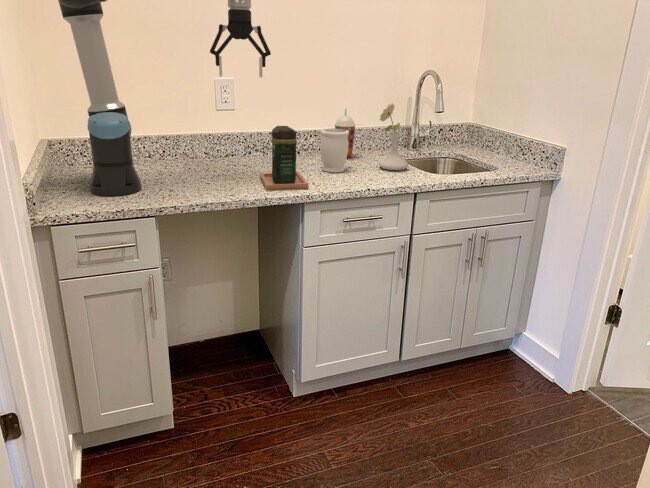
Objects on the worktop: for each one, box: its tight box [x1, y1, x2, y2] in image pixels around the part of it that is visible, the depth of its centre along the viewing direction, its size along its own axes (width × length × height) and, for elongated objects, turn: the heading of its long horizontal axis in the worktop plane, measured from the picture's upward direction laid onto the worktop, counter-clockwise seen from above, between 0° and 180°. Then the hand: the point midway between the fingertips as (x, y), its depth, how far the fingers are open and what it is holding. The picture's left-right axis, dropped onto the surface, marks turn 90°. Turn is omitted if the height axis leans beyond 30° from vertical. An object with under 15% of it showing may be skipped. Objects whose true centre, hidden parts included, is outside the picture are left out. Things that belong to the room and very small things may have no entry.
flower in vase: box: [378, 102, 409, 171], centre depth 202 cm, size 13×11×25 cm
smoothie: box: [334, 108, 356, 160], centre depth 220 cm, size 8×8×20 cm
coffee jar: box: [271, 125, 297, 184], centre depth 179 cm, size 10×8×19 cm
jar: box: [319, 128, 349, 174], centre depth 200 cm, size 11×10×15 cm
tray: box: [259, 171, 309, 192], centre depth 183 cm, size 14×16×2 cm
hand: (241, 76), depth 183 cm, fingers open, 13 cm apart
